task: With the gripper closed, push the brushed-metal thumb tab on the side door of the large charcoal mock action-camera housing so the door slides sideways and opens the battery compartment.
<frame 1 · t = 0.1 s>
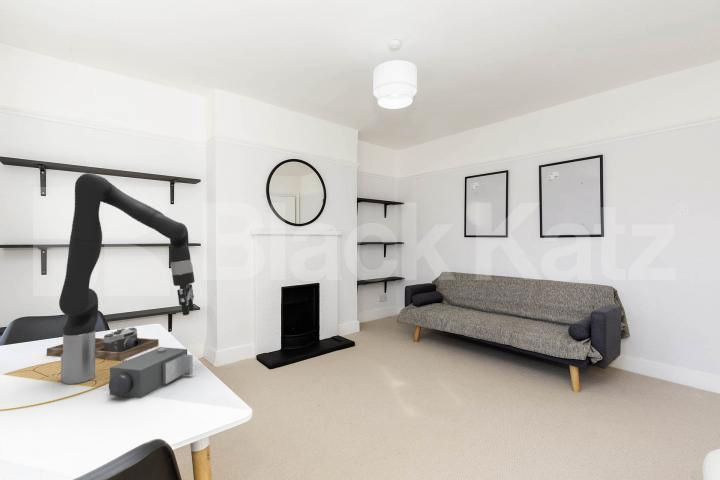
hand: (188, 312, 138), 22 cm above the table, tool pointing down, fingers open, 8 cm apart
camera: (126, 352, 159), resting in camera corral
battery door: (178, 368, 126), point 4 cm above the table, slide at 0.0 cm
camera housing: (151, 382, 125), on the table
camera corral: (126, 351, 159), on the table
charger corral: (80, 350, 160), on the table
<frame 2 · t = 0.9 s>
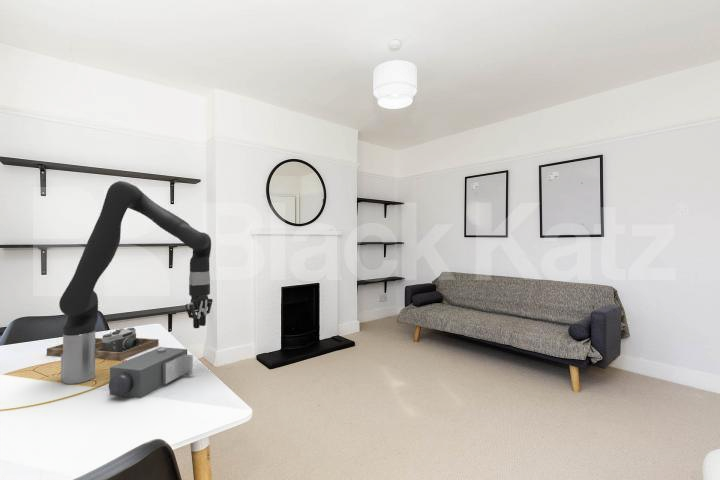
hand: (199, 326, 136), 17 cm above the table, tool pointing down, fingers open, 3 cm apart
nothing on the table moved.
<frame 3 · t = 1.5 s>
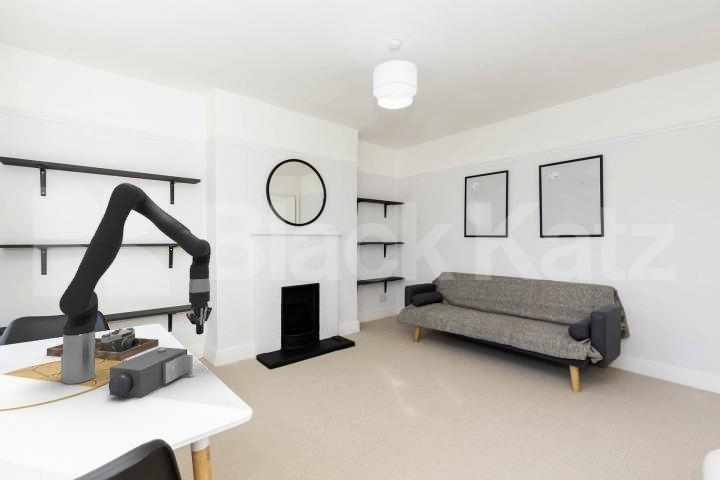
hand: (199, 333, 137), 14 cm above the table, tool pointing down, fingers closed
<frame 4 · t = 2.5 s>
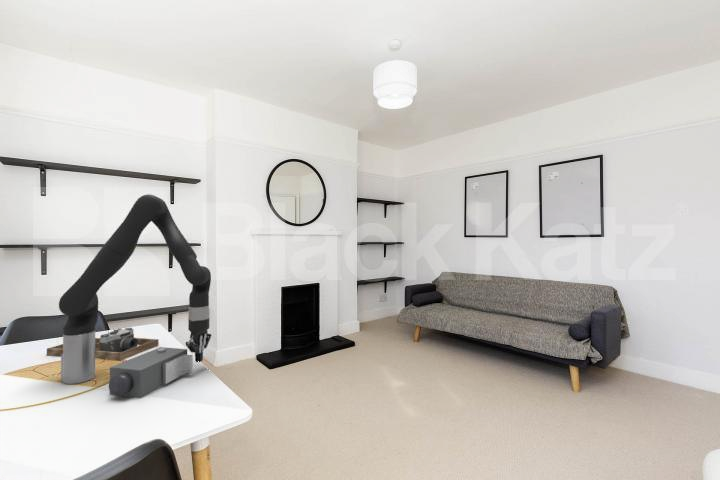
hand: (198, 361, 136), 4 cm above the table, tool pointing down, fingers closed
camera: (122, 352, 159), resting in camera corral
everything else where it was.
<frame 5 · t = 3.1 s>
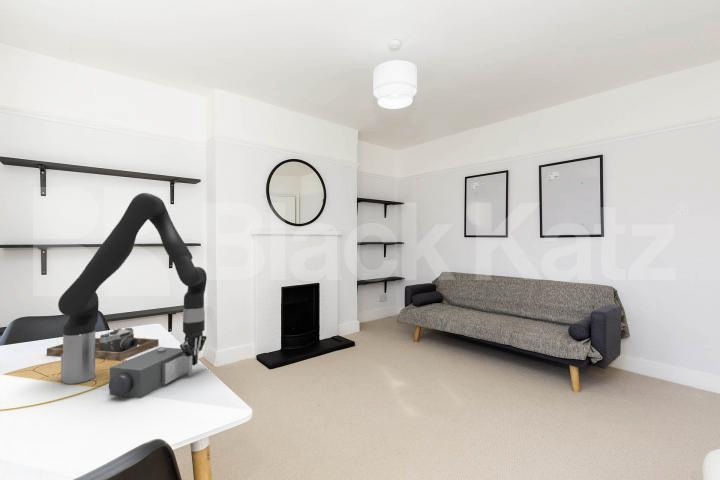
hand: (193, 364, 133), 3 cm above the table, tool pointing down, fingers closed
camera: (122, 352, 159), resting in camera corral
battery door: (177, 369, 126), point 4 cm above the table, slide at 0.2 cm, touching gripper, hand
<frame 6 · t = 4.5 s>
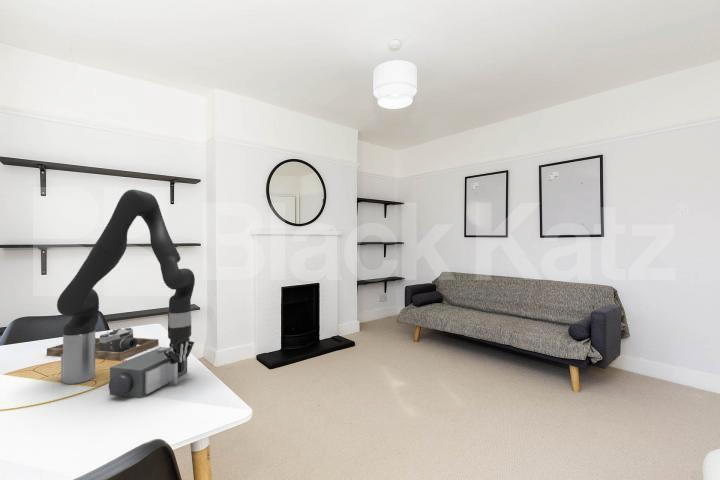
hand: (179, 371, 126), 3 cm above the table, tool pointing down, fingers closed
camera: (121, 352, 158), resting in camera corral
battery door: (161, 377, 118), point 4 cm above the table, slide at 7.9 cm, touching gripper
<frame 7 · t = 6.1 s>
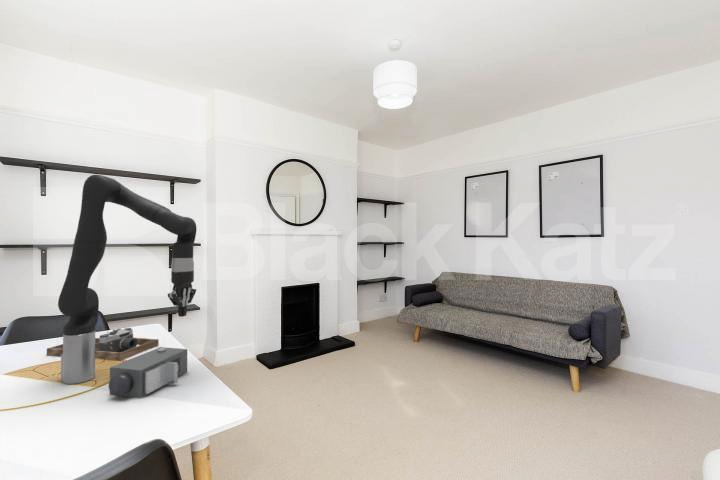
hand: (182, 316, 130), 23 cm above the table, tool pointing down, fingers closed
camera: (121, 352, 158), resting in camera corral
battery door: (161, 377, 118), point 4 cm above the table, slide at 7.9 cm
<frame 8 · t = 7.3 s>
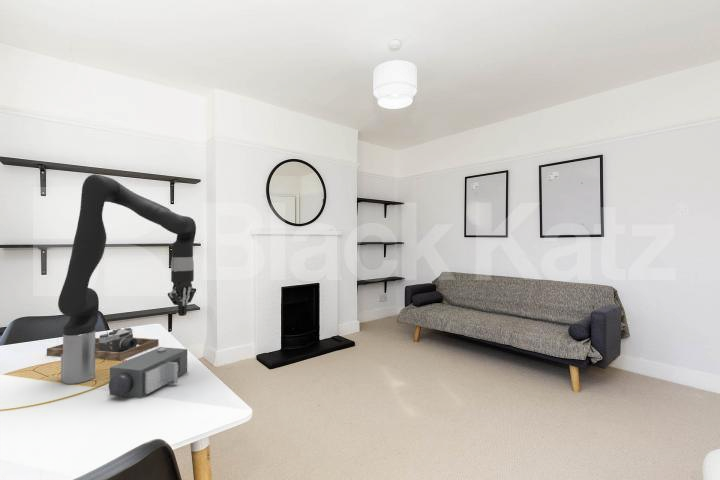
hand: (182, 315, 130), 23 cm above the table, tool pointing down, fingers closed
nothing on the table moved.
at the end: battery door slide at 7.9 cm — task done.
